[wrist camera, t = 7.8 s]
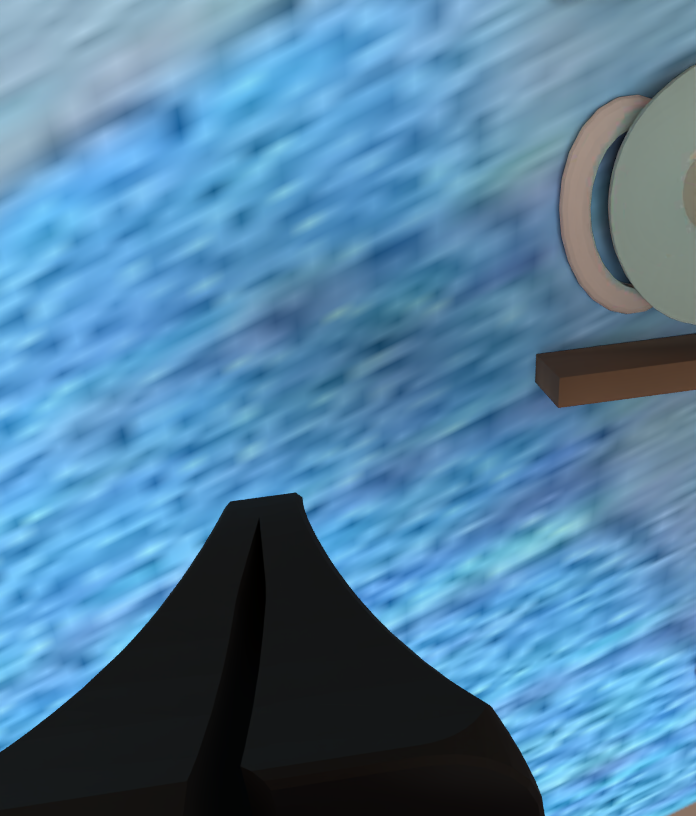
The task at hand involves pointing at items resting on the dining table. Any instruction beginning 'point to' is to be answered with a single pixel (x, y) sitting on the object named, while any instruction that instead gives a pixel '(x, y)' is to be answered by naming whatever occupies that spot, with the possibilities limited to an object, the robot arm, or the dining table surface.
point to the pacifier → (638, 202)
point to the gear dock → (618, 371)
